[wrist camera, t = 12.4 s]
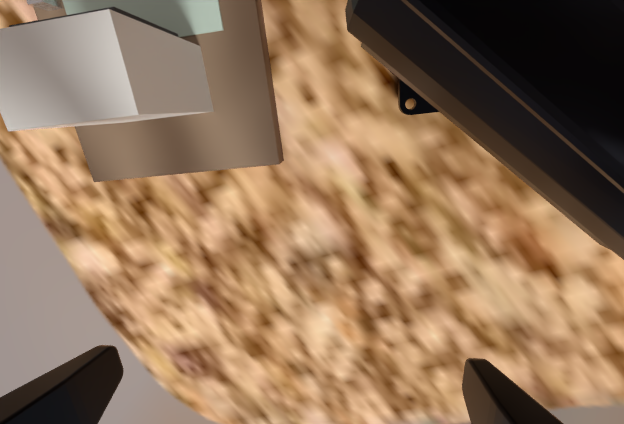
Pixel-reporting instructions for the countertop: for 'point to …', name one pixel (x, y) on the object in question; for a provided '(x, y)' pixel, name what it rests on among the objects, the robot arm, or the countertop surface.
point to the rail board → (223, 90)
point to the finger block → (97, 72)
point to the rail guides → (45, 4)
